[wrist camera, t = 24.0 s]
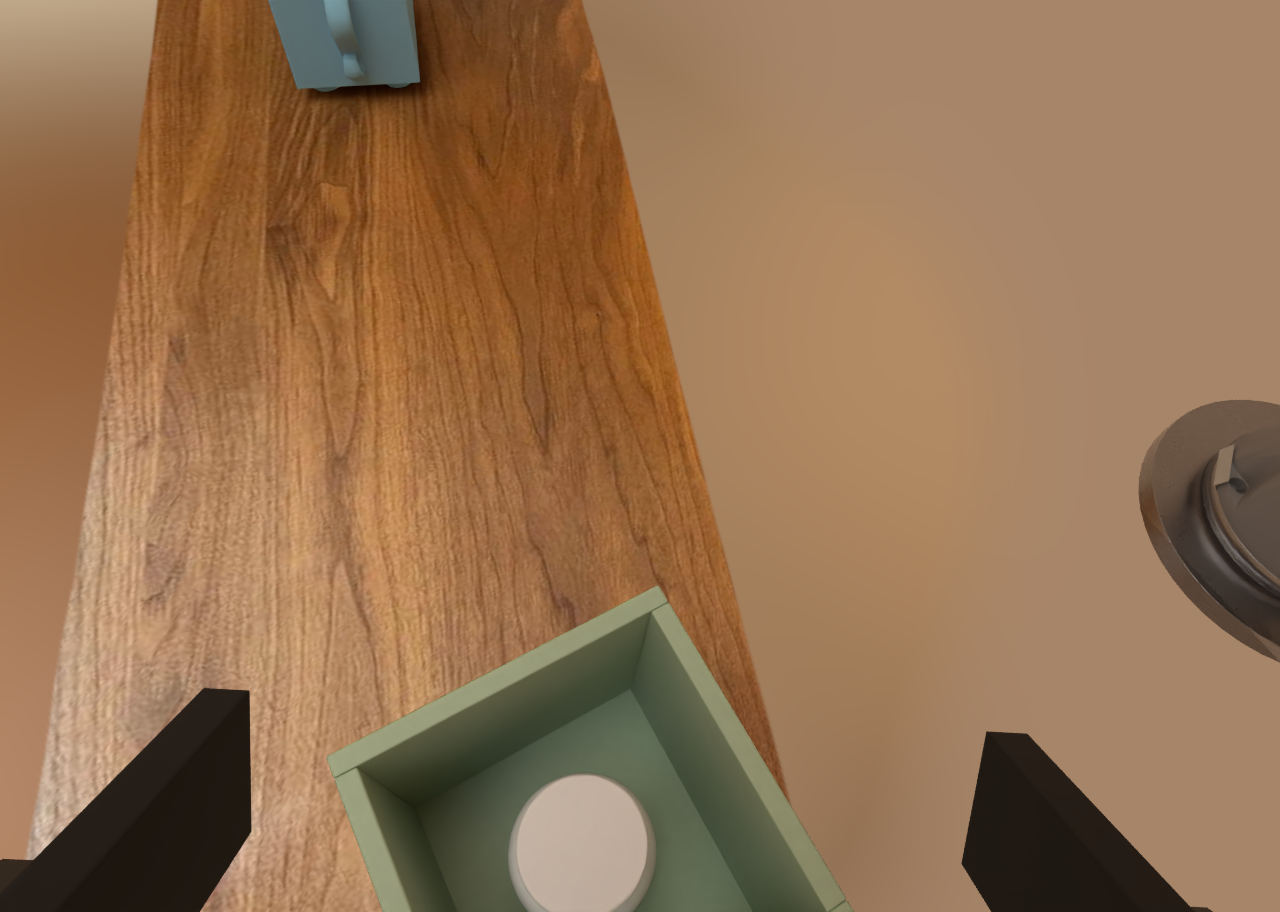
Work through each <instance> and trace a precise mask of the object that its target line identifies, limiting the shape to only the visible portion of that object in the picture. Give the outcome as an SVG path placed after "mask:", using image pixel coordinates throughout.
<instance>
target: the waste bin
mask: <svg viewBox="0 0 1280 912" xmlns="http://www.w3.org/2000/svg"><path fill="white" fill-rule="evenodd" d="M327 761H328V764H329V767H330V770H331V772H332V775H333V777H334V778H335V783H336V786H337V788H338V791H339V794H340V797H341V799H342V802H343V805H344V807H345V810H346V813H347V816H348V818H349V821H350V824H351V826H352V829H353V832H354V835H355V837H356V840H357V843H358V846H359V848H360V851H361V854H362V856H363V859H364V862H365V865H366V867H367V870H368V873H369V875H370V878H371V881H372V884H373V886H374V889H375V892H376V894H377V897H378V900H379V903H380V905H381V908H382V911H383V912H527V911H526V909H525V908H524V907H523V905H522V904H521V902H520V900H519V898H518V897H517V895H516V893H515V890H514V887H513V884H512V881H511V878H510V873H509V866H508V848H509V841H510V836H511V832H512V829H513V826H514V823H515V821H516V819H517V817H518V815H519V813H520V811H521V810H522V808H523V806H524V805H525V804H526V802H527V801H528V800H529V799H530V798H531V796H532V795H533V794H534V793H535V792H536V791H538V790H539V789H540V788H541V787H543V786H544V785H545V784H547V783H549V782H550V781H552V780H554V779H557V778H559V777H562V776H564V775H568V774H573V773H596V774H601V775H605V776H607V777H610V778H612V779H614V780H617V781H618V782H620V783H621V784H623V785H624V786H626V787H627V788H628V789H629V790H631V791H632V792H633V793H634V794H635V795H636V796H637V798H638V799H639V800H640V801H641V803H642V804H643V806H644V808H645V809H646V811H647V813H648V815H649V817H650V820H651V822H652V826H653V829H654V833H655V839H656V852H657V853H656V865H655V870H654V875H653V878H652V881H651V884H650V887H649V889H648V891H647V893H646V895H645V897H644V899H643V901H642V902H641V904H640V905H639V907H638V908H637V909H636V910H635V911H634V912H854V911H853V909H852V907H851V906H850V904H849V902H847V901H845V899H846V897H845V895H844V894H843V892H842V890H841V889H840V887H839V885H838V884H837V882H836V880H835V879H834V877H833V875H832V874H831V872H830V870H829V869H828V867H827V865H826V864H825V862H824V860H823V859H822V857H821V855H820V854H819V852H818V850H817V849H816V847H815V845H814V844H813V842H812V840H811V839H810V837H809V836H808V834H807V832H806V830H805V829H804V827H803V825H802V824H801V823H800V820H799V819H798V817H797V815H796V814H795V812H794V810H793V809H792V807H791V805H790V804H789V802H788V800H787V799H786V797H785V795H784V794H783V792H782V790H781V789H780V787H779V785H778V784H777V782H776V780H775V779H774V777H773V775H772V774H771V772H770V770H769V769H768V767H767V765H766V764H765V762H764V760H763V759H762V757H761V755H760V754H759V752H758V750H757V749H756V747H755V745H754V744H753V742H752V740H751V739H750V737H749V735H748V734H747V732H746V730H745V729H744V727H743V725H742V724H741V722H740V720H739V719H738V717H737V715H736V714H735V712H734V710H733V709H732V707H731V705H730V704H729V702H728V700H727V699H726V697H725V695H724V694H723V692H722V690H721V689H720V687H719V685H718V684H717V682H716V680H715V679H714V677H713V675H712V674H711V672H710V670H709V669H708V667H707V665H706V664H705V662H704V660H703V659H702V657H701V655H700V654H699V652H698V650H697V649H696V647H695V645H694V644H693V642H692V640H691V639H690V637H689V635H688V633H687V632H686V630H685V628H684V627H683V625H682V623H681V622H680V620H679V618H678V617H677V615H676V613H675V612H674V610H673V608H672V607H671V605H670V604H669V603H668V600H667V599H666V597H665V595H664V594H663V592H662V590H661V589H660V587H659V586H655V587H653V588H651V589H649V590H647V591H645V592H643V593H641V594H639V595H637V596H636V597H634V598H632V599H630V600H628V601H626V602H624V603H622V604H620V605H618V606H616V607H614V608H612V609H610V610H608V611H607V612H605V613H603V614H601V615H599V616H597V617H595V618H593V619H591V620H589V621H587V622H585V623H583V624H581V625H579V626H578V627H576V628H574V629H572V630H570V631H568V632H566V633H564V634H562V635H560V636H558V637H556V638H554V639H552V640H550V641H549V642H547V643H545V644H543V645H541V646H539V647H537V648H535V649H533V650H531V651H529V652H527V653H525V654H523V655H521V656H520V657H518V658H516V659H514V660H512V661H510V662H508V663H506V664H504V665H502V666H500V667H498V668H496V669H494V670H492V671H491V672H489V673H487V674H485V675H483V676H481V677H479V678H477V679H475V680H473V681H471V682H469V683H467V684H465V685H463V686H462V687H460V688H458V689H456V690H454V691H452V692H450V693H448V694H446V695H444V696H442V697H440V698H438V699H436V700H434V701H433V702H431V703H429V704H427V705H425V706H423V707H421V708H419V709H417V710H415V711H413V712H411V713H409V714H407V715H405V716H404V717H402V718H400V719H398V720H396V721H394V722H392V723H390V724H388V725H386V726H384V727H382V728H380V729H378V730H376V731H375V732H373V733H371V734H369V735H367V736H365V737H363V738H361V739H359V740H357V741H355V742H353V743H351V744H349V745H347V746H346V747H344V748H342V749H340V750H338V751H336V752H334V753H332V754H330V755H328V756H327Z"/></svg>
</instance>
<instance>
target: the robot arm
mask: <svg viewBox="0 0 1280 912" xmlns="http://www.w3.org/2000/svg"><path fill="white" fill-rule="evenodd" d="M1202 491H1203V502H1204V507H1205V511H1206V514H1207V517H1208V520H1209V522H1210V525H1211V527H1212V529H1213V531H1214V533H1215V535H1216V536H1217V538H1218V540H1219V541H1220V543H1221V544H1222V546H1223V547H1224V549H1225V550H1226V552H1227V553H1228V554H1229V555H1230V557H1231V558H1232V559H1233V560H1234V561H1235V562H1236V563H1237V565H1238V566H1239V567H1240V568H1241V569H1242V570H1243V571H1244V572H1245V573H1246V574H1248V575H1249V576H1250V577H1251V578H1252V579H1253V580H1254V581H1256V582H1257V583H1258V584H1260V585H1261V586H1262V587H1264V588H1265V589H1266V590H1268V591H1269V592H1271V593H1272V594H1274V595H1276V596H1277V597H1279V598H1280V423H1279V424H1276V425H1272V426H1269V427H1265V428H1261V429H1258V430H1255V431H1253V432H1250V433H1247V434H1245V435H1243V436H1241V437H1239V438H1237V439H1236V440H1235V441H1233V442H1232V443H1230V444H1229V445H1228V446H1226V447H1225V448H1223V449H1221V450H1219V452H1218V453H1217V454H1216V455H1215V456H1214V457H1213V459H1212V460H1211V461H1210V463H1209V465H1208V467H1207V469H1206V471H1205V474H1204V479H1203V487H1202ZM250 833H251V767H250V694H249V691H246V690H228V689H210V688H204V689H203V690H202V691H201V692H200V693H199V694H198V695H197V696H196V697H195V698H194V699H193V700H192V701H191V702H190V703H189V704H188V705H187V706H186V707H185V708H184V709H183V710H182V711H181V712H180V713H179V714H178V715H177V716H176V717H175V718H174V719H173V720H172V721H171V722H170V723H169V724H168V725H167V726H166V727H165V728H164V729H163V730H162V731H161V732H160V733H159V734H158V735H157V736H156V737H155V738H154V739H153V740H152V741H151V742H150V743H149V744H148V745H147V746H146V747H145V748H144V749H143V750H142V751H141V752H140V753H139V754H138V755H137V756H136V757H135V758H134V759H133V760H132V761H131V762H130V763H129V764H128V765H127V766H126V767H125V768H124V769H123V770H122V771H121V772H120V773H119V774H118V775H117V776H116V777H115V778H114V779H113V780H112V781H111V782H110V783H109V784H108V785H107V786H106V787H105V788H104V789H103V790H102V791H101V793H100V794H99V795H98V796H97V797H96V798H95V799H94V800H93V801H92V802H91V803H90V804H89V805H88V806H87V807H86V808H85V809H84V810H83V811H82V812H81V813H80V814H79V815H78V816H77V817H76V818H75V819H74V820H73V821H72V822H71V823H70V824H69V825H68V826H67V827H66V828H65V829H64V830H63V831H62V832H61V833H60V834H59V835H58V836H57V837H56V838H55V839H54V840H53V841H52V842H51V843H50V844H49V845H48V846H47V847H46V848H45V849H44V850H43V851H42V852H41V853H40V854H39V855H38V856H37V857H36V858H35V859H34V860H14V859H13V860H12V859H2V860H0V912H200V910H201V909H202V907H203V906H204V904H205V903H206V901H207V900H208V898H209V897H210V895H211V893H212V892H213V890H214V889H215V887H216V886H217V884H218V883H219V881H220V879H221V878H222V876H223V875H224V873H225V872H226V870H227V869H228V867H229V865H230V864H231V862H232V861H233V859H234V858H235V856H236V855H237V853H238V851H239V850H240V848H241V847H242V845H243V844H244V842H245V841H246V839H247V838H248V836H249V834H250ZM962 865H963V867H964V868H965V870H966V871H967V873H968V875H969V876H970V878H971V880H972V881H973V883H974V885H975V886H976V888H977V889H978V891H979V893H980V894H981V896H982V898H983V899H984V901H985V902H986V904H987V906H988V907H989V909H990V910H991V912H1212V911H1211V910H1210V909H1208V908H1203V907H1190V906H1189V905H1188V904H1187V903H1186V902H1185V901H1184V900H1183V899H1182V898H1181V897H1180V896H1179V894H1178V893H1177V892H1176V891H1175V890H1174V889H1173V888H1172V887H1171V886H1170V885H1169V884H1168V883H1167V882H1166V881H1165V880H1164V879H1163V878H1162V877H1161V875H1160V874H1159V873H1158V872H1157V871H1156V870H1155V869H1154V868H1153V867H1152V866H1151V865H1150V864H1149V863H1148V862H1147V860H1146V859H1145V858H1144V857H1143V856H1142V855H1141V854H1140V853H1139V852H1138V851H1137V850H1136V849H1135V848H1134V847H1133V846H1132V845H1131V844H1130V842H1128V840H1127V839H1126V838H1125V837H1124V836H1123V835H1122V834H1121V833H1120V832H1119V831H1118V830H1117V829H1116V828H1115V827H1114V826H1113V824H1111V822H1110V821H1109V820H1108V819H1107V818H1106V817H1105V816H1104V815H1103V814H1102V813H1101V812H1100V811H1099V810H1098V809H1097V807H1096V806H1095V805H1094V804H1093V803H1092V802H1091V801H1090V800H1089V799H1088V798H1087V797H1086V796H1085V795H1084V794H1083V793H1082V792H1081V790H1080V789H1079V788H1078V787H1077V786H1076V785H1075V784H1074V783H1073V782H1072V781H1071V780H1070V779H1069V778H1068V777H1067V776H1066V775H1065V773H1064V772H1063V771H1062V770H1061V769H1060V768H1059V767H1058V766H1057V765H1056V764H1055V763H1054V762H1053V761H1052V760H1051V759H1050V758H1049V757H1048V755H1046V754H1045V752H1044V751H1043V750H1041V748H1040V747H1039V746H1038V745H1037V744H1036V743H1035V742H1034V741H1033V740H1032V738H1031V737H1030V736H1029V735H1028V734H1022V733H1003V732H986V737H985V742H984V747H983V753H982V758H981V763H980V769H979V774H978V779H977V785H976V790H975V795H974V800H973V806H972V811H971V816H970V821H969V827H968V833H967V837H966V843H965V848H964V854H963V859H962Z"/></svg>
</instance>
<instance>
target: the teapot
mask: <svg viewBox="0 0 1280 912" xmlns="http://www.w3.org/2000/svg"><path fill="white" fill-rule="evenodd" d="M268 1H269V4H270V7H271V10H272V13H273V16H274V19H275V22H276V25H277V28H278V31H279V34H280V38H281V41H282V44H283V47H284V50H285V53H286V56H287V59H288V62H289V65H290V68H291V71H292V74H293V77H294V80H295V83H296V86H297V89H303V88H315V89H316V90H318V91H323V92H328V91H333V90H335V89H337V88H338V87H341V86H361V85H379V84H387V85H388V86H390V87H395V88H401V87H405V86H407V85H409V84H410V83H417V82H420V74H419V63H418V51H417V40H416V30H415V19H414V8H413V0H268Z"/></svg>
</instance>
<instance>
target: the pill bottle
mask: <svg viewBox="0 0 1280 912" xmlns="http://www.w3.org/2000/svg"><path fill="white" fill-rule="evenodd" d="M656 853H657V852H656V839H655V833H654V829H653V826H652V822H651V820H650V817H649V815H648V813H647V811H646V809H645V808H644V806H643V804H642V803H641V801H640V800H639V799H638V798H637V796H636V795H635V794H634V793H633V792H632V791H631V790H629V789H628V788H627V787H626V786H624V785H623V784H621V783H620V782H618V781H617V780H614V779H612V778H610V777H607V776H605V775H601V774H596V773H573V774H568V775H564V776H562V777H559V778H557V779H554V780H552V781H550V782H549V783H547V784H545V785H544V786H543V787H541V788H540V789H539V790H538V791H536V792H535V793H534V794H533V795H532V796H531V798H530V799H529V800H528V801H527V802H526V804H525V805H524V806H523V808H522V810H521V811H520V813H519V815H518V817H517V819H516V821H515V823H514V826H513V829H512V832H511V836H510V841H509V848H508V866H509V873H510V878H511V881H512V884H513V887H514V890H515V893H516V895H517V897H518V898H519V900H520V902H521V904H522V905H523V907H524V908H525V909H526V911H527V912H634V911H635V910H636V909H637V908H638V907H639V905H640V904H641V902H642V901H643V899H644V897H645V895H646V893H647V891H648V889H649V887H650V884H651V881H652V878H653V875H654V870H655V865H656Z"/></svg>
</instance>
